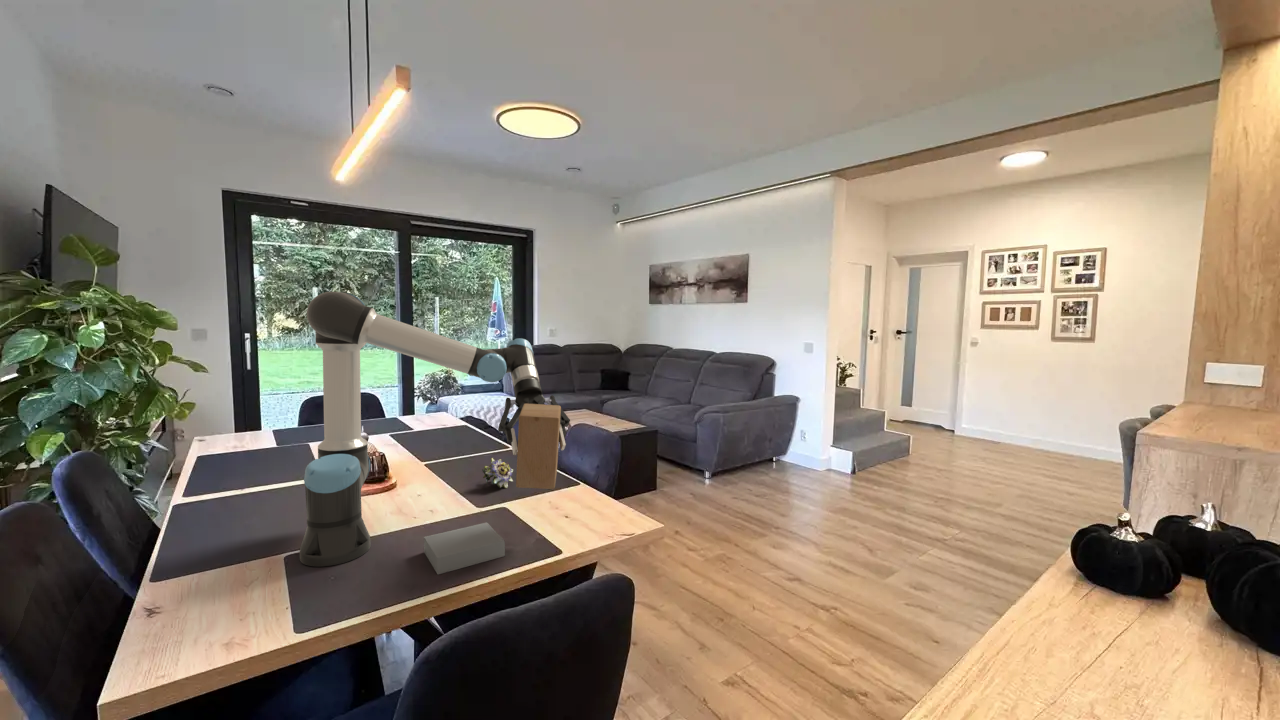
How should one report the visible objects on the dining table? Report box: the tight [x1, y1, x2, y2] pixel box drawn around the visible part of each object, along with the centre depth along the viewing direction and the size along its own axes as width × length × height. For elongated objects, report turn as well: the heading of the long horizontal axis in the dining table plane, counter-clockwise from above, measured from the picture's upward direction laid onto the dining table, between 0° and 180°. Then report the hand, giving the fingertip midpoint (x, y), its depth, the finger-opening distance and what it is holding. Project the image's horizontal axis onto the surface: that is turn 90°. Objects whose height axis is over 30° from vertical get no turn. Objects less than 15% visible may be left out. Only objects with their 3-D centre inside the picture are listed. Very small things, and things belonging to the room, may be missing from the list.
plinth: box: [423, 521, 506, 575], centre depth 126 cm, size 16×13×4 cm
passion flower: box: [481, 457, 514, 489], centre depth 175 cm, size 11×11×12 cm
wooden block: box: [515, 404, 562, 490], centre depth 134 cm, size 10×10×20 cm
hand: (540, 450), depth 134 cm, fingers closed on wooden block, 12 cm apart
